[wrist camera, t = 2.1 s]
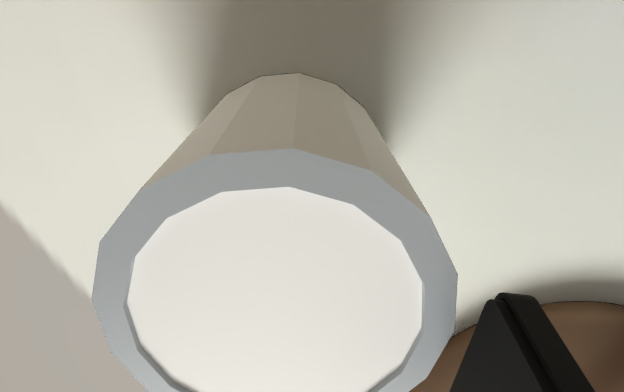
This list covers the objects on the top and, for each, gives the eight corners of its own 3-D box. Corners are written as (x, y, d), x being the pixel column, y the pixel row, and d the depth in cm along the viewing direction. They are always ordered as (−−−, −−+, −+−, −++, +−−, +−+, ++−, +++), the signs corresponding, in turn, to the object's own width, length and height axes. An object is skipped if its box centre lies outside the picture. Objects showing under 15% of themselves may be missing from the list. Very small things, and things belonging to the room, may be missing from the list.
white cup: (225, 276, 18) (178, 465, 12) (139, 89, 15) (13, 211, 9) (421, 228, 17) (484, 406, 11) (374, 18, 14) (424, 98, 8)
